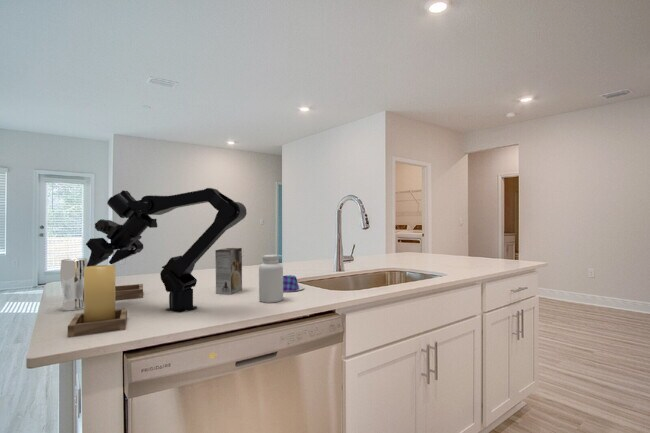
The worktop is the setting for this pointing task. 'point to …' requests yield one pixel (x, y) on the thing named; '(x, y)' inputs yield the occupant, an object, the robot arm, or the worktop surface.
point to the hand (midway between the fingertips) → (99, 265)
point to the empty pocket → (128, 292)
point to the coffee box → (228, 270)
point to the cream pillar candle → (99, 293)
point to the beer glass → (73, 283)
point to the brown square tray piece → (97, 324)
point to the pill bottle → (270, 279)
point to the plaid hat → (290, 284)
